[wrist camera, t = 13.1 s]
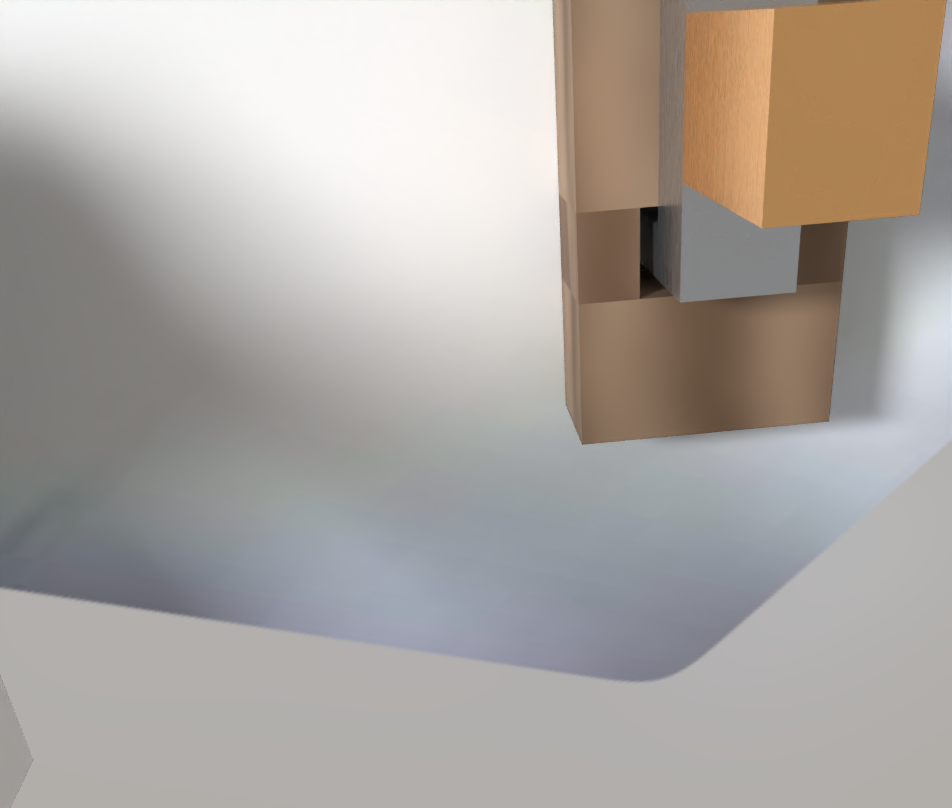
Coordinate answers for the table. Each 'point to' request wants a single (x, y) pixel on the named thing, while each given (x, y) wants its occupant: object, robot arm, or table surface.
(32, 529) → the table surface
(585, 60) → the slotted wooden block
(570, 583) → the table surface
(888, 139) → the clip
